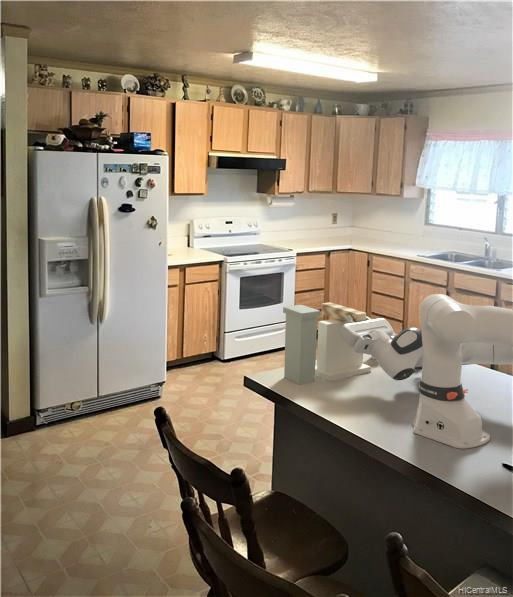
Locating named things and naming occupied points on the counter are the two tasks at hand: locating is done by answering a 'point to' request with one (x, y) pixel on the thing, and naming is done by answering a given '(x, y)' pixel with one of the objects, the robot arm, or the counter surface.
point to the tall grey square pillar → (300, 343)
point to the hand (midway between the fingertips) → (354, 315)
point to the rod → (342, 312)
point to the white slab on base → (336, 353)
